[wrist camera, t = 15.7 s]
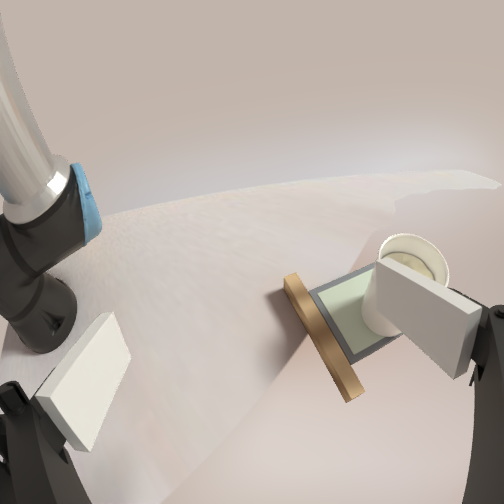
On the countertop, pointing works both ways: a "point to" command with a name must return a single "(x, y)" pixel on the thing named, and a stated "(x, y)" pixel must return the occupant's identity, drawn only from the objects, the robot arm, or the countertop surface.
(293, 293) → the brown wooden bar
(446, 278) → the candle holder
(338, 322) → the square tile
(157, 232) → the countertop surface
